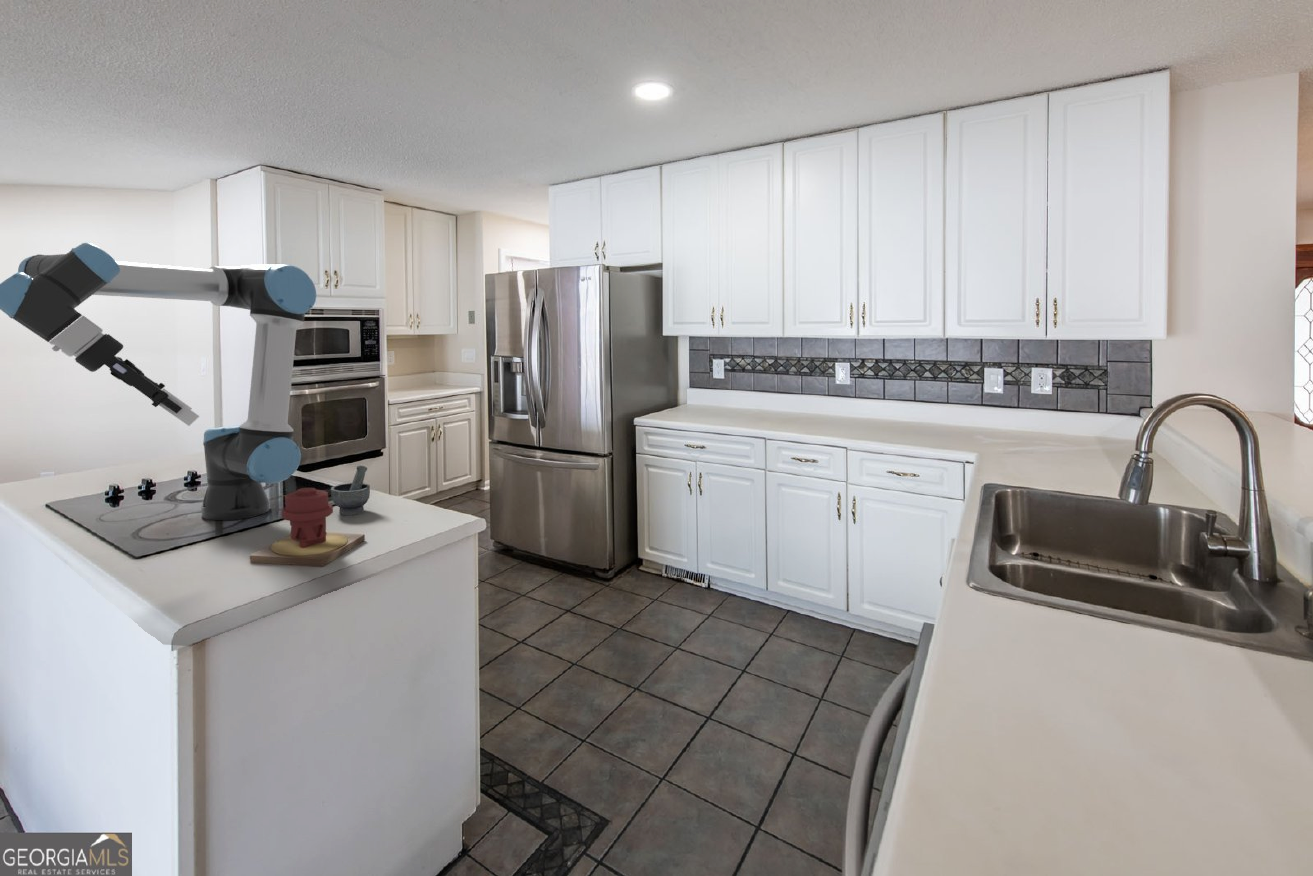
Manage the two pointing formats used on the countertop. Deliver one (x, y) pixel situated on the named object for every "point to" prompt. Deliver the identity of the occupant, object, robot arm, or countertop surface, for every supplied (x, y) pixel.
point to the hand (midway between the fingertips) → (190, 416)
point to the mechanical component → (307, 515)
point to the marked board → (307, 550)
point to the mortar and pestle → (352, 494)
